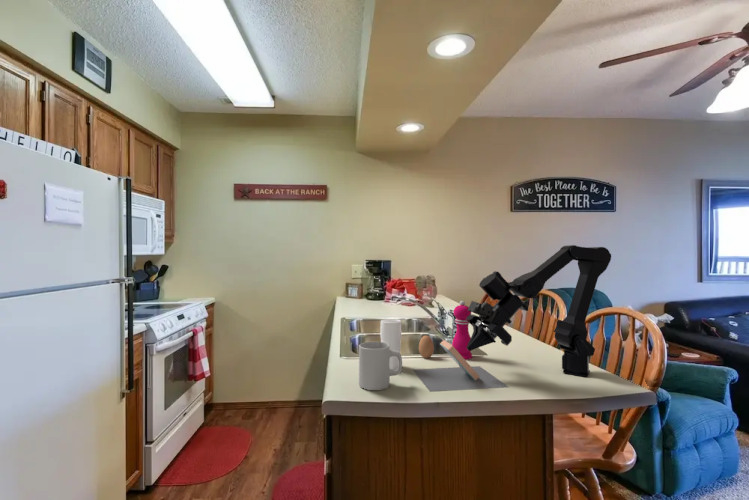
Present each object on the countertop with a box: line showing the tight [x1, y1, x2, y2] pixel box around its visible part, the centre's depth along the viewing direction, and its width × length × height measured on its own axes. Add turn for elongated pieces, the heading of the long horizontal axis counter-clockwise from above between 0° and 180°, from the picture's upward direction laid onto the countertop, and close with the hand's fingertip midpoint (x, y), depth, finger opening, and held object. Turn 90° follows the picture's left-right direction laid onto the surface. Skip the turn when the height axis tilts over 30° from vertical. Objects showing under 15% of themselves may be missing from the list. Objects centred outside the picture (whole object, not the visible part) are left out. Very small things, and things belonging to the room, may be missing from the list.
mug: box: [358, 341, 403, 391], centre depth 97 cm, size 12×8×11 cm
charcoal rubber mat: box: [412, 365, 509, 393], centre depth 101 cm, size 22×18×1 cm
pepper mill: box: [451, 300, 473, 361], centre depth 122 cm, size 7×7×20 cm
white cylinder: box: [379, 318, 403, 370], centre depth 111 cm, size 7×7×15 cm
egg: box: [418, 335, 435, 359], centre depth 122 cm, size 5×5×8 cm
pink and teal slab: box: [439, 339, 480, 381], centre depth 101 cm, size 2×7×12 cm
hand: (467, 349), depth 102 cm, fingers closed
